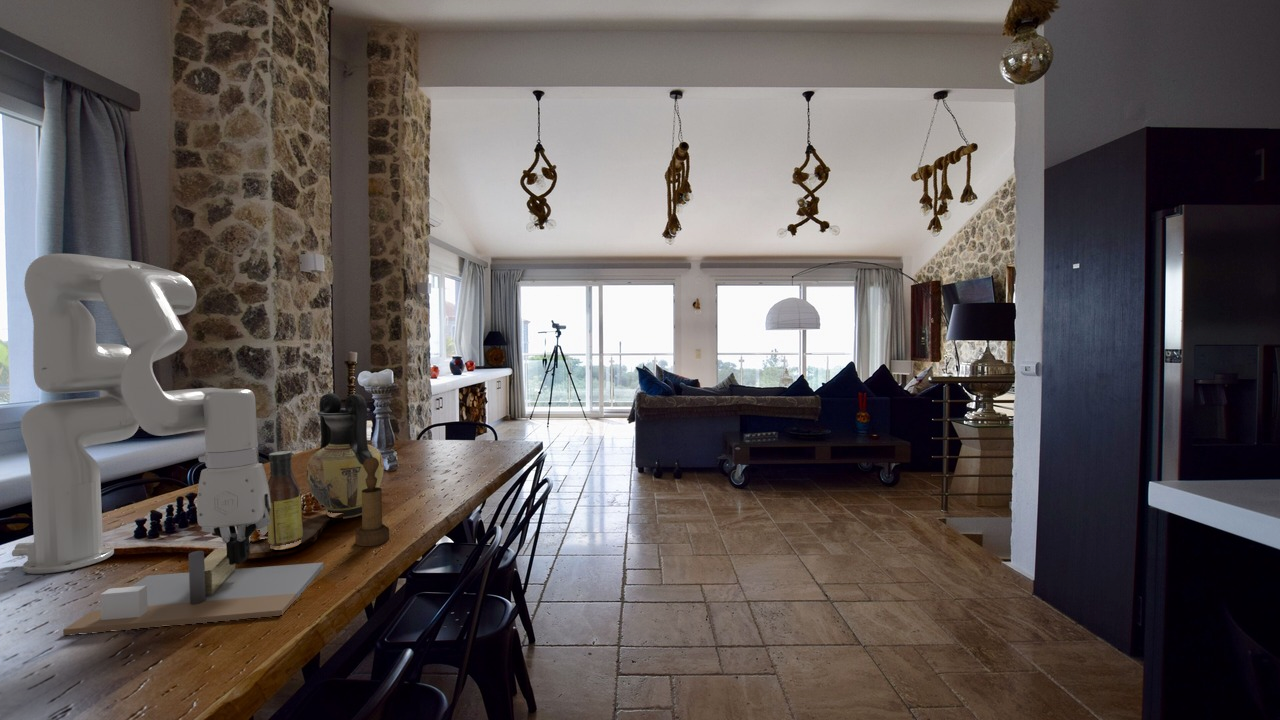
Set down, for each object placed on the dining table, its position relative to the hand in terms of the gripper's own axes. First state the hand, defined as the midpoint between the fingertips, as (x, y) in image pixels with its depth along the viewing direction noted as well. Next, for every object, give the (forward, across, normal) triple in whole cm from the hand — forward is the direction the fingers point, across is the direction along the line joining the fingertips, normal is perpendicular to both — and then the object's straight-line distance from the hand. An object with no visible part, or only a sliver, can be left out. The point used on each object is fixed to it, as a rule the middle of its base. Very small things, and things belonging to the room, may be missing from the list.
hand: (238, 561), depth 102 cm
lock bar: (+2, -3, -2) cm, 4 cm away
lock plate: (+4, -2, -5) cm, 7 cm away
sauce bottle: (+4, 0, +18) cm, 19 cm away
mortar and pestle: (+4, +17, +19) cm, 26 cm away
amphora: (+4, +4, +40) cm, 41 cm away
